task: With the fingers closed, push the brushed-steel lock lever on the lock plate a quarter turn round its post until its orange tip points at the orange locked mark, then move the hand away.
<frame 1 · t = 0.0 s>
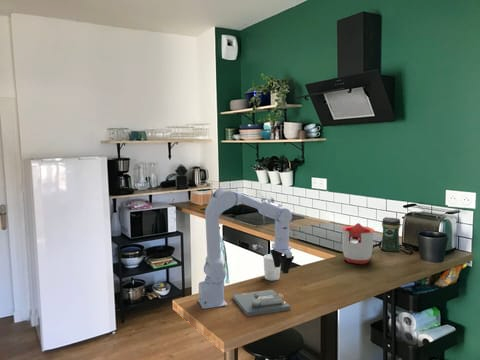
hand: (281, 269, 158), 10 cm above the table, tool pointing down, fingers open, 7 cm apart
coffee jar: (390, 250, 223), on the table
white cup: (272, 278, 177), on the table
lock plate: (260, 303, 150), on the table
lock lever: (267, 300, 145), point 3 cm above the table, hinge at 0.0°
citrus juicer: (356, 261, 202), on the table
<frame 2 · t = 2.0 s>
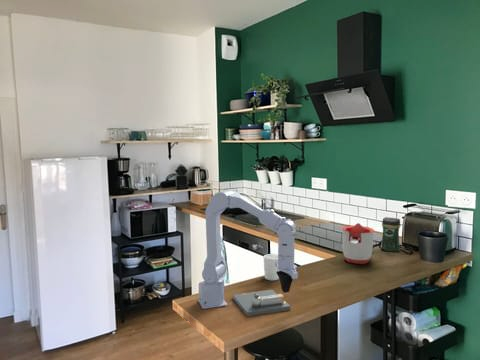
hand: (285, 291, 140), 9 cm above the table, tool pointing down, fingers closed
nothing on the table moved.
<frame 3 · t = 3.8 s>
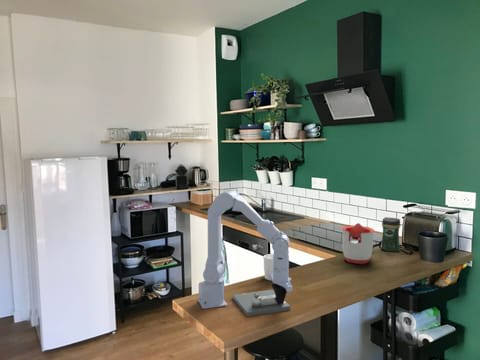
hand: (280, 303, 144), 2 cm above the table, tool pointing down, fingers closed
lock lever: (267, 299, 145), point 3 cm above the table, hinge at 0.3°, touching gripper
everything else where it was.
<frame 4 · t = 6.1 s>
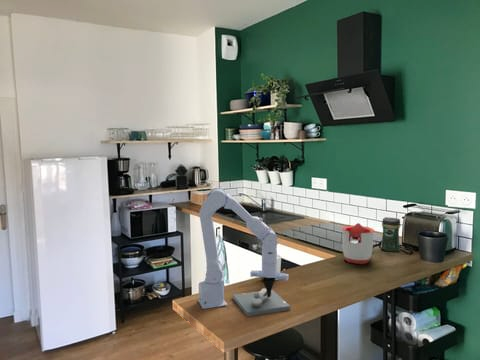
hand: (269, 296, 151), 3 cm above the table, tool pointing down, fingers closed
lock lever: (260, 297, 148), point 3 cm above the table, hinge at 48.1°, touching gripper
everything else where it was.
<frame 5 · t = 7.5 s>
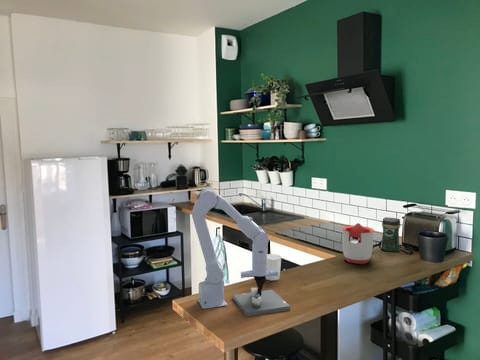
hand: (259, 294, 152), 3 cm above the table, tool pointing down, fingers closed
lock lever: (255, 296, 148), point 3 cm above the table, hinge at 73.7°, touching gripper
everything else where it was.
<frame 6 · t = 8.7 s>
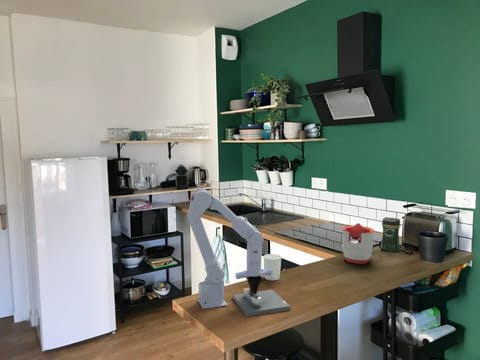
hand: (253, 294, 152), 2 cm above the table, tool pointing down, fingers closed
lock lever: (251, 297, 148), point 3 cm above the table, hinge at 92.0°, touching gripper
everything else where it was.
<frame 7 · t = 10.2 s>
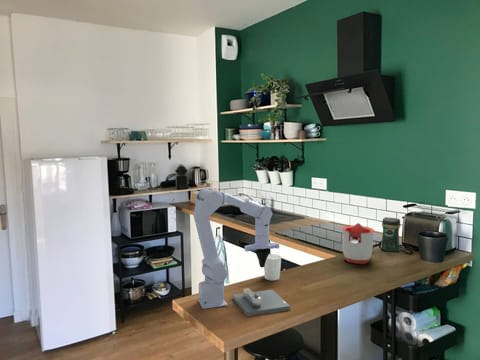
hand: (261, 266, 161), 10 cm above the table, tool pointing down, fingers closed
lock lever: (251, 297, 148), point 3 cm above the table, hinge at 92.1°
everything else where it was.
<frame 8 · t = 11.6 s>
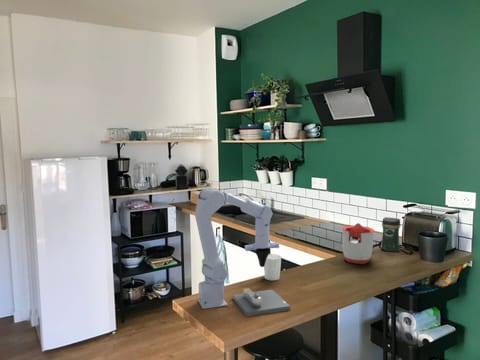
hand: (261, 266, 162), 10 cm above the table, tool pointing down, fingers closed
nothing on the table moved.
at the end: lock lever at +92° (first picture: +0°); the gripper is holding nothing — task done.
